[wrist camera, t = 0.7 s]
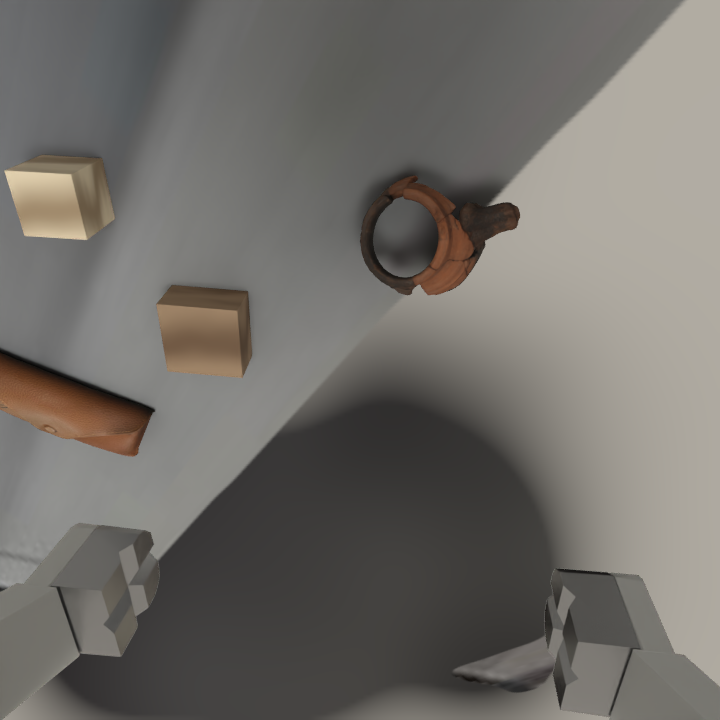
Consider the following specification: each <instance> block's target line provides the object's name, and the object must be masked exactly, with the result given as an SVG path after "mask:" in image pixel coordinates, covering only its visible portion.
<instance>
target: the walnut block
mask: <svg viewBox="0 0 720 720" xmlns="http://www.w3.org/2000/svg"><path fill="white" fill-rule="evenodd" d="M156 305H157V311H158V317H159V323H160V329H161V334H162V340H163V346H164V352H165V358H166V364H167V370H168V371H170V372H182V373H193V374H205V375H216V376H228V377H240V378H243V375H244V373H245V371H246V368H247V366H248V364H249V361H250V359H251V357H252V348H251V332H250V316H249V300H248V291H238V290H225V289H213V288H201V287H189V286H177V285H172V286H171V287H170V288H169V289H168V291H167V292H166V293H165V294H164V296H163V297H162V298H161V299H160V300H159V302H158V303H157V304H156Z"/></svg>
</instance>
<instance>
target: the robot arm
mask: <svg viewBox="0 0 720 720" xmlns="http://www.w3.org/2000/svg"><path fill="white" fill-rule="evenodd" d="M153 545H154V543H153V539H152V535H151V532H148V531H146V530H138V529H130V528H121V527H113V526H105V525H93V524H84V523H78V524H76V525H75V526H73V527H71V528H70V530H69V531H68V532H67V533H66V534H65V535H64V537H63V538H62V539H61V540H60V541H59V543H58V544H57V545H56V546H55V547H54V549H53V550H52V551H51V552H50V553H49V554H48V556H47V557H46V558H45V559H44V560H43V562H42V563H41V564H40V565H39V566H38V568H37V569H36V570H35V571H34V572H33V574H32V575H31V576H30V577H29V578H28V579H27V581H26V582H25V583H24V584H20V583H16V584H15V585H13V586H11V587H9V588H7V589H5V590H4V591H2V592H0V720H2V719H3V718H5V716H7V715H8V714H9V713H11V712H12V711H13V710H14V709H16V708H17V707H18V706H19V705H20V704H22V703H23V702H24V701H25V700H26V699H28V698H29V697H30V696H31V695H33V694H34V693H35V692H36V691H37V690H38V689H40V688H41V687H42V686H43V685H45V684H46V683H47V682H48V681H50V680H51V679H52V678H53V677H54V676H56V675H57V674H58V673H59V672H60V671H62V670H63V669H64V668H65V667H66V666H68V665H69V664H70V663H71V662H73V661H74V660H75V659H76V658H77V657H79V653H83V654H94V655H107V656H118V657H121V656H122V654H123V652H124V651H125V649H126V647H127V645H128V643H129V642H130V639H131V638H132V636H133V634H134V633H135V631H136V629H137V627H138V626H137V620H136V616H137V615H138V614H140V613H141V612H143V611H144V610H146V609H147V608H148V607H149V606H150V604H151V602H152V600H153V598H154V596H155V593H156V590H157V586H158V582H159V565H158V560H157V559H156V558H155V557H154V556H153V555H152V554H151V553H150V550H151V548H152V547H153ZM551 586H552V591H553V595H552V596H550V597H549V598H548V599H547V602H546V608H545V622H544V627H545V637H546V643H547V648H548V652H549V653H550V654H551V655H552V656H553V657H554V658H555V660H556V662H555V666H554V670H553V677H554V683H555V688H556V692H557V697H558V702H559V706H560V710H565V711H572V712H578V713H586V714H592V715H599V716H606V717H610V720H720V687H719V686H718V685H717V684H716V683H715V682H714V681H713V680H712V679H710V678H709V677H708V676H707V675H706V674H705V673H704V672H703V671H701V670H700V669H699V668H698V667H697V666H696V665H695V664H694V663H692V662H691V661H690V660H689V659H688V658H687V657H686V656H685V655H681V654H675V652H674V650H673V648H672V646H671V643H670V641H669V639H668V636H667V634H666V632H665V629H664V627H663V625H662V623H661V620H660V618H659V616H658V613H657V611H656V609H655V606H654V604H653V602H652V600H651V597H650V595H649V593H648V590H647V588H646V586H645V583H644V581H643V579H642V578H641V577H640V576H639V575H632V574H620V573H608V572H597V571H585V570H573V569H560V568H555V570H554V572H553V574H552V578H551Z"/></svg>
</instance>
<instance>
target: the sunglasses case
mask: <svg viewBox="0 0 720 720" xmlns="http://www.w3.org/2000/svg"><path fill="white" fill-rule="evenodd" d="M0 410H3V411H5V412H6V413H9V414H11V415H13V416H16V417H18V418H20V419H22V420H25V421H28V422H30V423H31V424H32V425H33V426H35V427H36V428H38V429H40V430H42V431H45V432H48V433H51V434H53V435H55V436H58V437H61V438H65V439H75V440H78V441H81V442H83V443H86V444H88V445H92V446H95V447H98V448H101V449H104V450H107V451H111V452H114V453H117V454H121V455H125V456H135V455H137V454H138V450H139V449H138V447H139V445H140V443H141V440H142V437H143V435H144V433H145V430H146V428H147V425H148V423H149V420H150V417H151V415H152V413H153V412H155V411H152V410H151V409H149V408H147V407H145V406H142V405H138V404H136V403H133V402H130V401H127V400H123V399H121V398H118V397H115V396H110V395H108V394H106V393H103V392H100V391H97V390H94V389H90V388H87V387H86V386H83V385H81V384H78V383H76V382H73V381H71V380H68V379H66V378H63V377H60V376H57V375H55V374H52V373H49V372H46V371H44V370H42V369H40V368H37V367H35V366H32V365H30V364H27V363H24V362H22V361H19V360H17V359H14V358H12V357H9V356H7V355H5V354H2V353H0Z"/></svg>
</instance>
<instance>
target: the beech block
mask: <svg viewBox="0 0 720 720" xmlns="http://www.w3.org/2000/svg"><path fill="white" fill-rule="evenodd" d="M5 174H6V177H7V180H8V184H9V187H10V190H11V193H12V197H13V200H14V203H15V206H16V209H17V213H18V216H19V219H20V222H21V225H22V229H23V232H24V235H25V236H35V237H51V238H67V239H83V240H88V239H89V238H90V237H92V236H93V235H94V234H96V233H97V232H98V231H100V230H101V229H102V228H104V227H105V226H106V225H108V224H109V223H110V222H112V221H113V220H114V219H115V217H114V212H113V207H112V203H111V198H110V193H109V189H108V184H107V179H106V175H105V170H104V165H103V160H102V158H86V157H69V156H52V155H40V156H38V157H35V158H33V159H31V160H28V161H26V162H24V163H21V164H19V165H16V166H14V167H12V168H9V169H7V170H5Z"/></svg>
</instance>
